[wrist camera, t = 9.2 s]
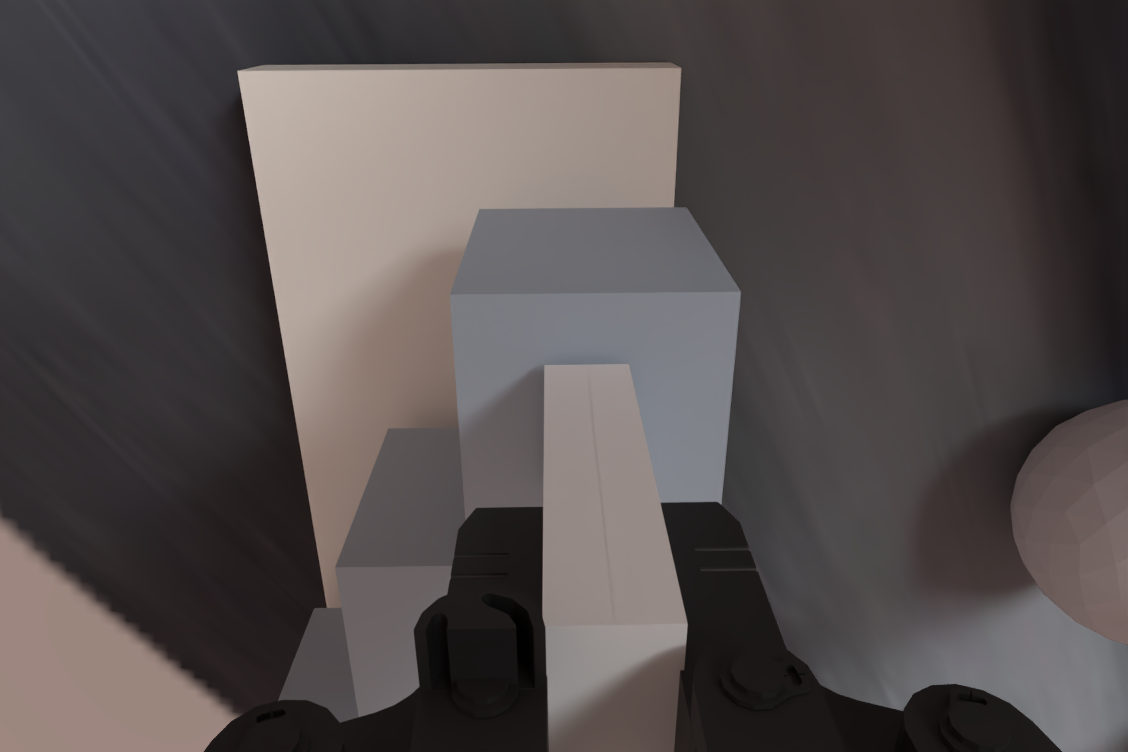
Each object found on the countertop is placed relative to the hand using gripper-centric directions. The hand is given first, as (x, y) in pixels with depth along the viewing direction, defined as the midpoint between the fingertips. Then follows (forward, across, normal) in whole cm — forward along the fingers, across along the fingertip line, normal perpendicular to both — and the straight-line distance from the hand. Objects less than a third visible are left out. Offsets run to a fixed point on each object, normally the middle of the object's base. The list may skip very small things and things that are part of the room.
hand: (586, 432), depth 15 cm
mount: (+11, -3, -6) cm, 13 cm away
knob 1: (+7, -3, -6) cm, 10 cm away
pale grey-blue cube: (+7, 0, 0) cm, 7 cm away
